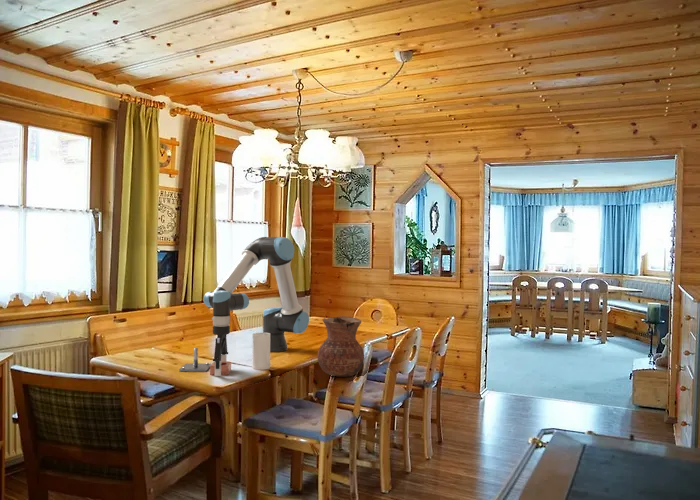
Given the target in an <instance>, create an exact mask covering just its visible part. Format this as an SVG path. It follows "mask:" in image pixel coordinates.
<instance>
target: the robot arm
mask: <svg viewBox="0 0 700 500" xmlns="http://www.w3.org/2000/svg"><path fill="white" fill-rule="evenodd" d="M294 255H295V246H294V243H293V242H292V240H291V239H290V238H288V237H284V236H261V237H258V238H257V239H254V240H253V241H252V242H251V243H249V244H248V245H247V246H246V248H244V249H243V251H242V252H241V257H240V258H239V259H238V260H237V262H235V264H234V265H233V266H232V267H231V269H230V270H229V271H228V273H227V274H226V275H225V276H224V278H222V280H221V281H220V282H219V284H218V285H217V286H216V288H215V289H214V290H213V291H207V292H206V293H205V294H204V296H203V299H202V300H203V303H204V305H205V307H208V308H211V309H212V317H211V320H212V325H213V326H212V335H214V336H215V335H216V336H217V338H216V337H215V345H214V353H213V354H214V355H213V359H212V362H215V375H214V377H222V375H221V362H227V359H228V358H227V355H229V351H228V342H227V335H229V334H230V331H231V330H230V329H231V326H230V325H231V312H232V311H238V310H239V311H241V310H245V309H247V308H248V306H249V304H250V298H249V296H248V295H247V294H246V293H243V292H241V293H240V292H238V293H234V291H235V290H236V288H237V287H238V286H239V285H240V283H241V282H242V280H244V278H245V277H246V275H247V274H248V273H249V272H250V270H251V269H252V268H253V267H254V265H255V266H256V265H257V264H258V263H259V262H260V261H262V260H268V263H269V266H270V267H271V268H273V271H274V275H275V280H276V285H277V288H278V289H277V290H278V293H279V297H280V301H281V305H282V306H278V307H268V308H265V309H264V310H263V313H262V333H270V353H275V352H277V353H279V352H284V351H287V350H288V343H287V339H286V336H285V333H293V334H302V333H304V332H305V331H306V330H307V328H308V326H309V323H310V317H309V312H306V311H304V310H303V309H304V308H303V306H302V305H301V304H299V300H298V297H297V292H296V290H297V289H296V285H295V282H294V277H293V273H292V269H291V268H292V267H291V262H292V261H293V260H292V259H293V258H294Z"/></svg>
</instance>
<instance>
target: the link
mask: <svg viewBox="0 0 700 500" xmlns="http://www.w3.org/2000/svg"><path fill="white" fill-rule="evenodd" d="M210 364H211V366H210V368H209V375H210V376H215V361H212V363H210ZM231 372H232V361H226V362H221V376H229V374H230V373H231Z"/></svg>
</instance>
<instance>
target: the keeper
mask: <svg viewBox="0 0 700 500" xmlns="http://www.w3.org/2000/svg"><path fill="white" fill-rule="evenodd" d="M192 362H193V363H184V365H182V366H181V367H180V368H179V369H178V370H179V373H180V372H181V373H182V371H187V372H189V373H191V372H193V373H196V372H197V373H200V372H203V373H204V372H207V371H208V370H210V366H211V364H212V363H209V362H206V363H199V347H193V361H192ZM187 372H186V373H187Z"/></svg>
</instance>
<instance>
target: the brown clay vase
mask: <svg viewBox="0 0 700 500" xmlns="http://www.w3.org/2000/svg"><path fill="white" fill-rule="evenodd" d="M322 322H323V323H324V326H325V328H326V333H327V335H326V336H327V337H326V339H325V340H324V341H323V342H322V344H321V345H320V347H319V348H318V351H317V362H318V365H319V367H320V368H321V370H322V371H323V372H324V373H325V374H326V375H329V376H332V375H333V376H332V377H335V376H336V377H340V378H346V377H348V378H349V377H353V376H355V375H357V374H358V372H359V371H360V370H361V369H362V367H363V364H364V360H365V352H364V349H363V347H362V345H361V344H360V343H359V340H357V337H356V334H357V331H358V329H359V327H360V325H361V324H362V320H361V319H360V318H357V317H351V316H345V315H344V316H336V317H335V316H334V317H328V318H327V317H324V318H323V319H322Z"/></svg>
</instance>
